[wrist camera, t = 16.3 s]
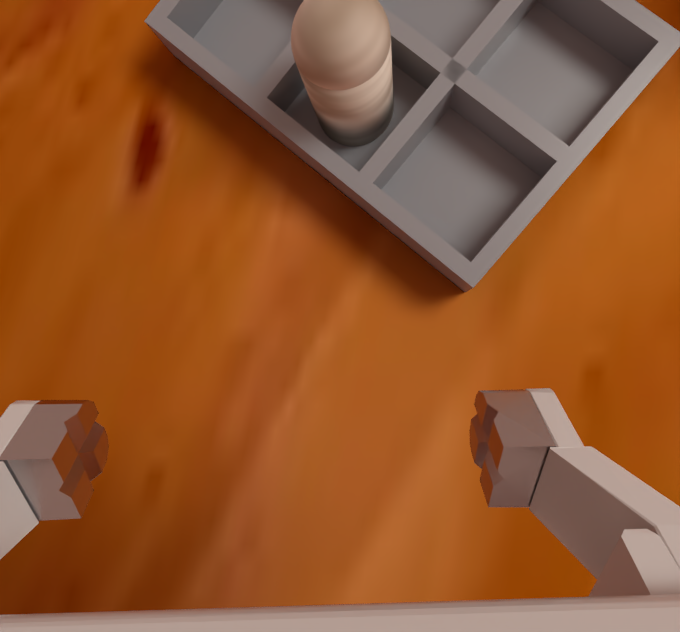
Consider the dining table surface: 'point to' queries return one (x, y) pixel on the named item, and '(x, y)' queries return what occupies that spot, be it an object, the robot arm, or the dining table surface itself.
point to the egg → (346, 66)
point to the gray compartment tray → (442, 106)
